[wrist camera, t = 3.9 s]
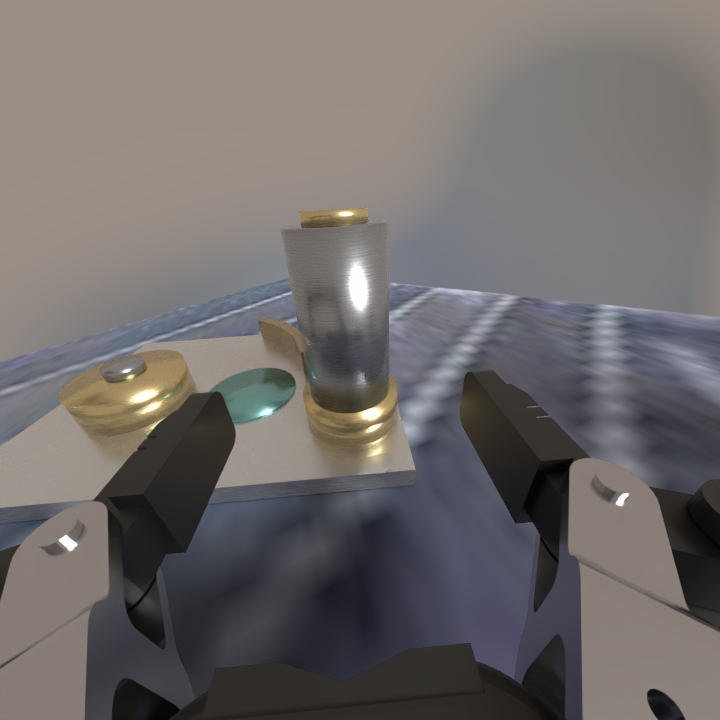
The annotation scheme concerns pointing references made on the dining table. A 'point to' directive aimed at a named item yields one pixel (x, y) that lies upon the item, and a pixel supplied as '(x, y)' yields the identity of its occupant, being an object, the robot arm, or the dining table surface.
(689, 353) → the dining table surface
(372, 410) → the silver and brass cylinder
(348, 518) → the dining table surface
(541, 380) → the dining table surface
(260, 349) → the carrier
